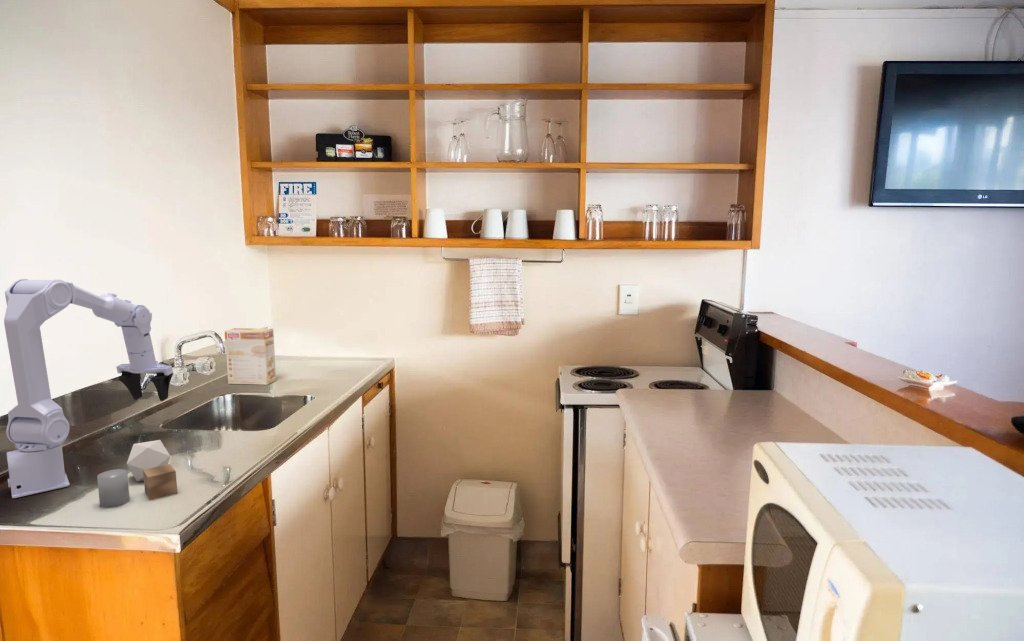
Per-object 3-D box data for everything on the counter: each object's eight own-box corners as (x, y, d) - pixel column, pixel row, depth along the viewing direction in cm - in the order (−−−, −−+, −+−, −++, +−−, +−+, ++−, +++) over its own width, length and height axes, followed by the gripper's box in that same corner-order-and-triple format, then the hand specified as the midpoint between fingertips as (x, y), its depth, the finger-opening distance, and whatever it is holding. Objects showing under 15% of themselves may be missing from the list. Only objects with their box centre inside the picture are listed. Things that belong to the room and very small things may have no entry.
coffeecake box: (276, 380, 222) (274, 328, 219) (267, 385, 214) (264, 331, 212) (238, 379, 223) (234, 327, 220) (227, 384, 216) (223, 330, 213)
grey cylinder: (101, 510, 117) (99, 481, 117) (98, 501, 121) (95, 473, 120) (131, 502, 121) (129, 474, 120) (127, 494, 124) (124, 467, 124)
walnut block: (150, 500, 122) (147, 477, 121) (145, 492, 126) (142, 469, 125) (177, 493, 125) (175, 470, 124) (171, 486, 129) (169, 463, 128)
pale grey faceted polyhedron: (173, 469, 140) (144, 437, 138) (185, 459, 134) (156, 426, 133) (141, 493, 133) (110, 461, 132) (153, 484, 128) (121, 450, 127)
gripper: (176, 345, 157) (186, 393, 161) (126, 344, 159) (137, 391, 163) (157, 355, 150) (167, 404, 154) (105, 353, 152) (117, 402, 156)
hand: (151, 398), depth 158 cm, fingers open, 7 cm apart
